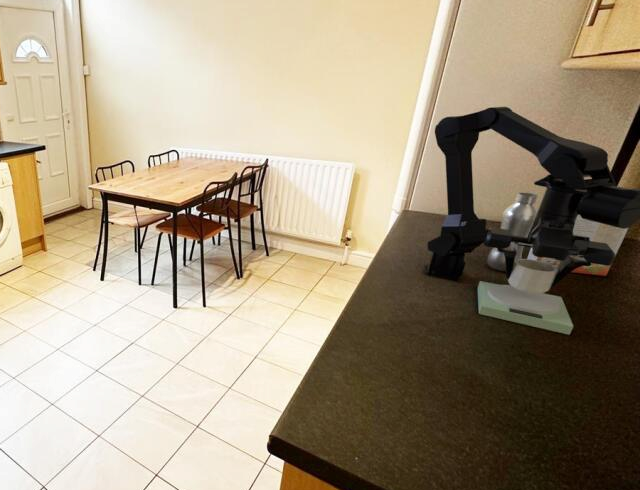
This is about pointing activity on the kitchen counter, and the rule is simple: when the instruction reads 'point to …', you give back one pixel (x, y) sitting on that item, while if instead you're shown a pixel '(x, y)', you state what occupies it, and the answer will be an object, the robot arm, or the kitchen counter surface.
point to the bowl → (532, 275)
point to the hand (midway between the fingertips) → (528, 282)
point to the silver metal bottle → (515, 226)
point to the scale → (524, 307)
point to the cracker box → (596, 234)
